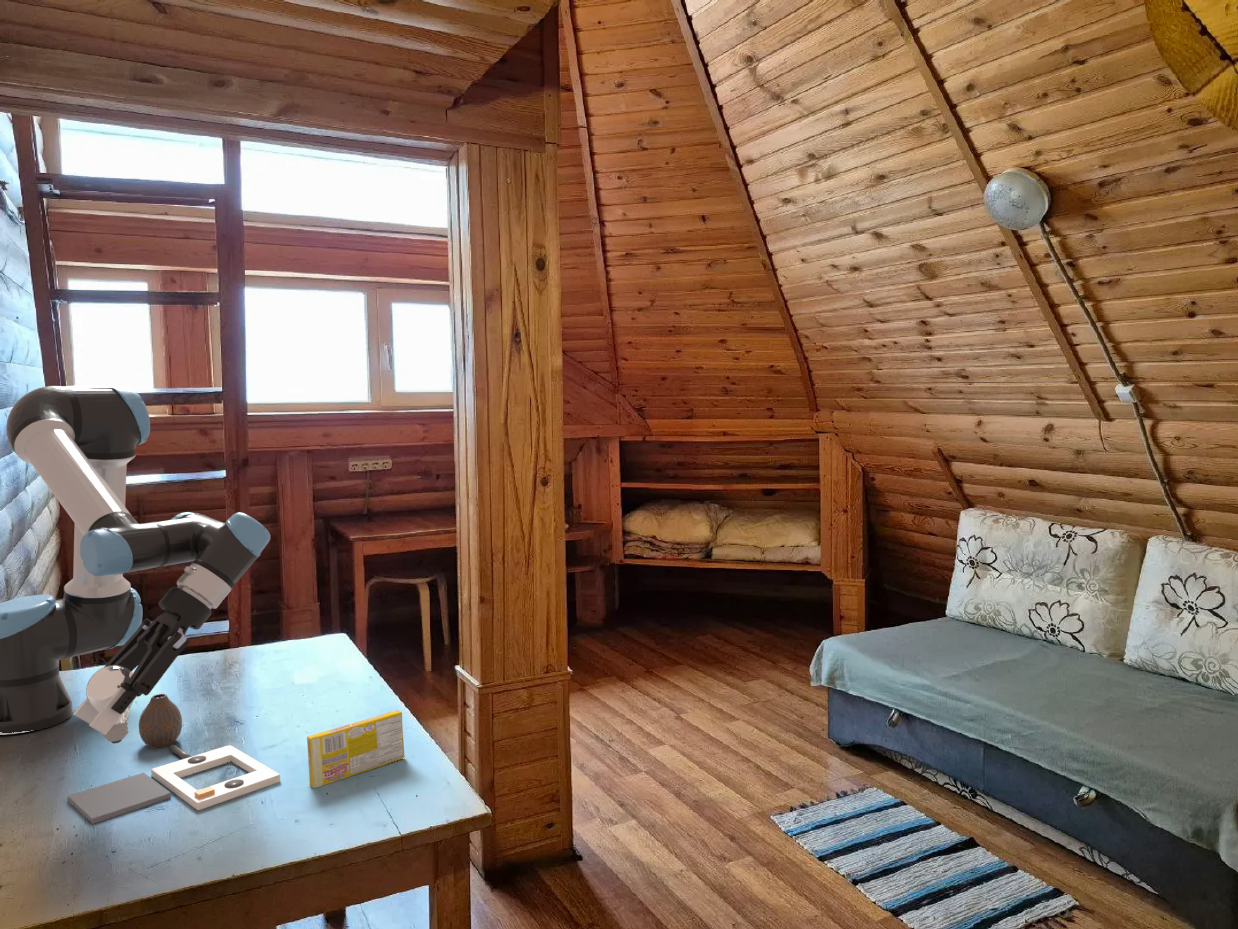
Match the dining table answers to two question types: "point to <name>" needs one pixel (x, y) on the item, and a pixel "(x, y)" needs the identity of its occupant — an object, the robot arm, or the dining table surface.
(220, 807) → the dining table surface
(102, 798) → the felt pad
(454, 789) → the dining table surface
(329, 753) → the candy box
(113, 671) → the light bulb
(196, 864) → the dining table surface
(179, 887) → the dining table surface
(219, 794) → the white square frame
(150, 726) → the vase
